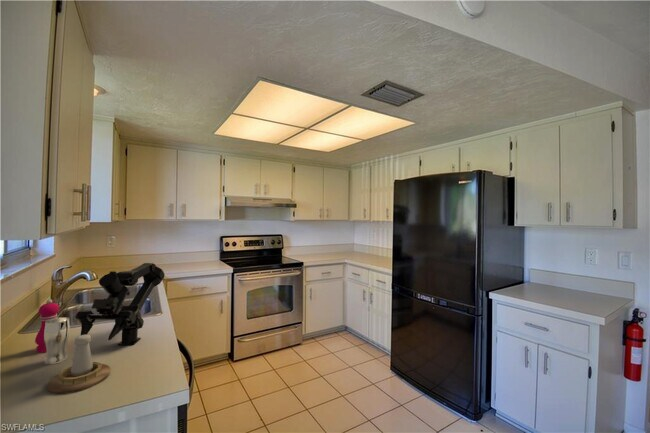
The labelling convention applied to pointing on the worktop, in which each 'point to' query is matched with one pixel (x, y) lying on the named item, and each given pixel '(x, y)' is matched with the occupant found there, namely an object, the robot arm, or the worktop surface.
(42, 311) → the pepper mill
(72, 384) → the ring tray
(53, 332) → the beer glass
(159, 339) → the worktop surface
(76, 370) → the salt shaker
